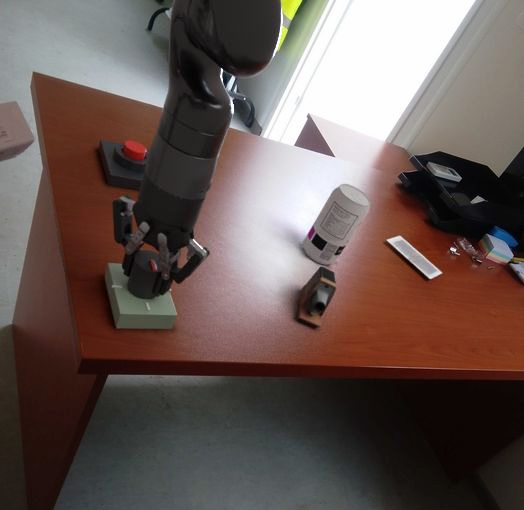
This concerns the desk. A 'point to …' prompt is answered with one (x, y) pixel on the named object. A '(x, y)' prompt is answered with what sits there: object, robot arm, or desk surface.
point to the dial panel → (137, 304)
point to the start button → (134, 150)
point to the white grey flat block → (414, 257)
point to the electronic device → (316, 297)
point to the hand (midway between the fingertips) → (144, 283)
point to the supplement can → (336, 224)
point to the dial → (144, 274)
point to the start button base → (121, 166)
